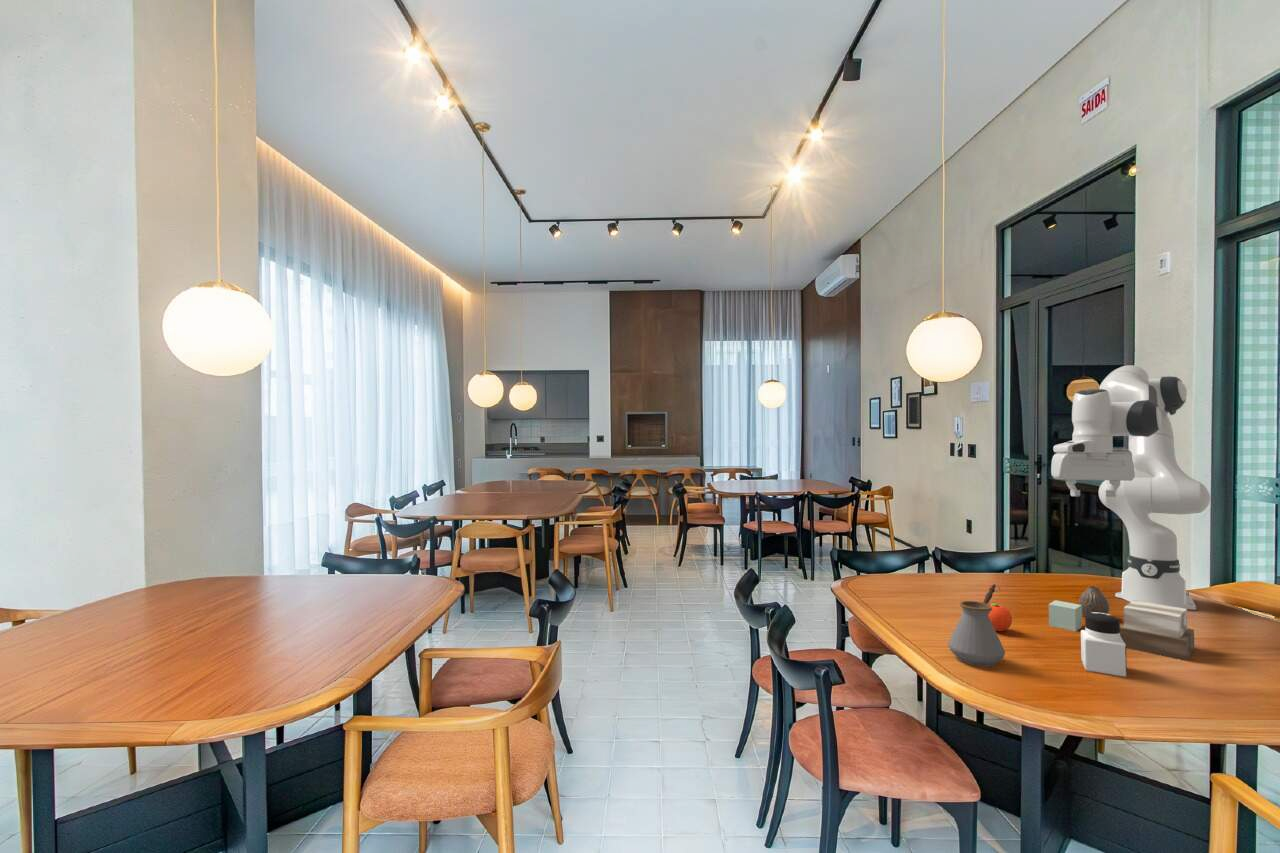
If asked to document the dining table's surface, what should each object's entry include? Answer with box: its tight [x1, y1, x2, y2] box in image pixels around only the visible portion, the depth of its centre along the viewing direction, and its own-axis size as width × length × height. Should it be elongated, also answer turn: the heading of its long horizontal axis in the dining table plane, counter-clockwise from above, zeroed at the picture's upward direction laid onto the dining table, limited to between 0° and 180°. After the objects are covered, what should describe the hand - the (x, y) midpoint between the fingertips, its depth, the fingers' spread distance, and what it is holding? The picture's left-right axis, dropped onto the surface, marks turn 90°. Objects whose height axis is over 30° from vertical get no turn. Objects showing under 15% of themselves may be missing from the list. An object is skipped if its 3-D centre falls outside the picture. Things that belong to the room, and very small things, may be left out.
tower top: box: [1123, 600, 1188, 638], centre depth 140 cm, size 10×10×5 cm
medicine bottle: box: [1080, 612, 1128, 678], centre depth 127 cm, size 7×7×12 cm
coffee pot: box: [947, 583, 1006, 667], centre depth 136 cm, size 21×12×15 cm, turn 133°
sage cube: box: [1048, 599, 1083, 632], centre depth 156 cm, size 6×6×6 cm
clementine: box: [988, 603, 1013, 632], centre depth 153 cm, size 8×7×7 cm
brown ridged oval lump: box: [1078, 585, 1110, 617], centre depth 163 cm, size 7×7×9 cm
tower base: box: [1120, 623, 1195, 662], centre depth 140 cm, size 12×12×5 cm
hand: (1093, 496), depth 158 cm, fingers open, 8 cm apart
